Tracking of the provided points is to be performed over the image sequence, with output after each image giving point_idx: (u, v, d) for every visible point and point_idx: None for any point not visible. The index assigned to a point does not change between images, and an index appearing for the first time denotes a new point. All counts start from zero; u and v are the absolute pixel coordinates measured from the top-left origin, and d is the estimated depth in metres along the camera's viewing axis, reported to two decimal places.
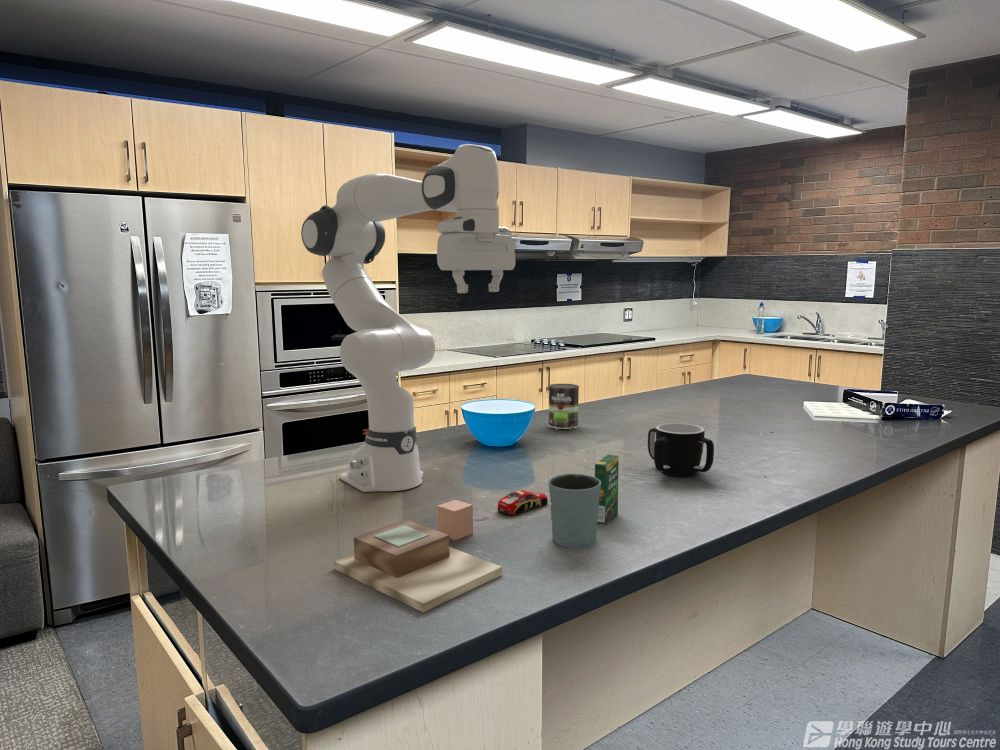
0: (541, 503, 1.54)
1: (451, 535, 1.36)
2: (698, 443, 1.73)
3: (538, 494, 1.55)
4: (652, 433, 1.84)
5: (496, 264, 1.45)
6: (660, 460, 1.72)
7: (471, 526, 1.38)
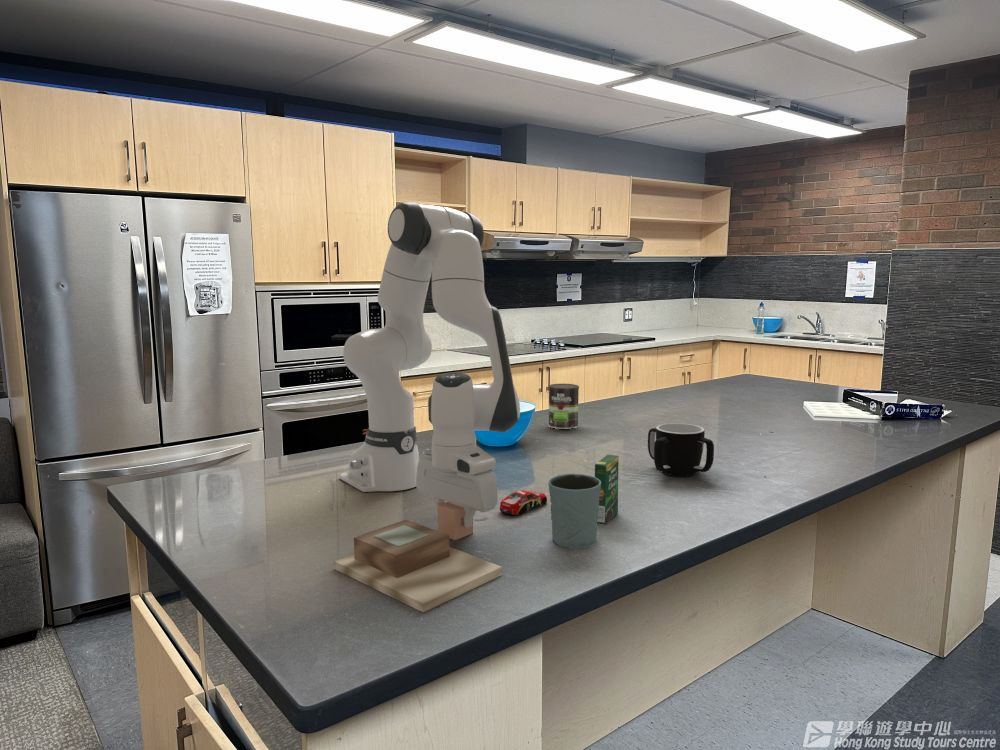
0: (541, 502, 1.55)
1: (451, 535, 1.36)
2: (698, 443, 1.73)
3: (538, 493, 1.56)
4: (652, 433, 1.84)
5: None
6: (660, 460, 1.72)
7: (471, 526, 1.38)
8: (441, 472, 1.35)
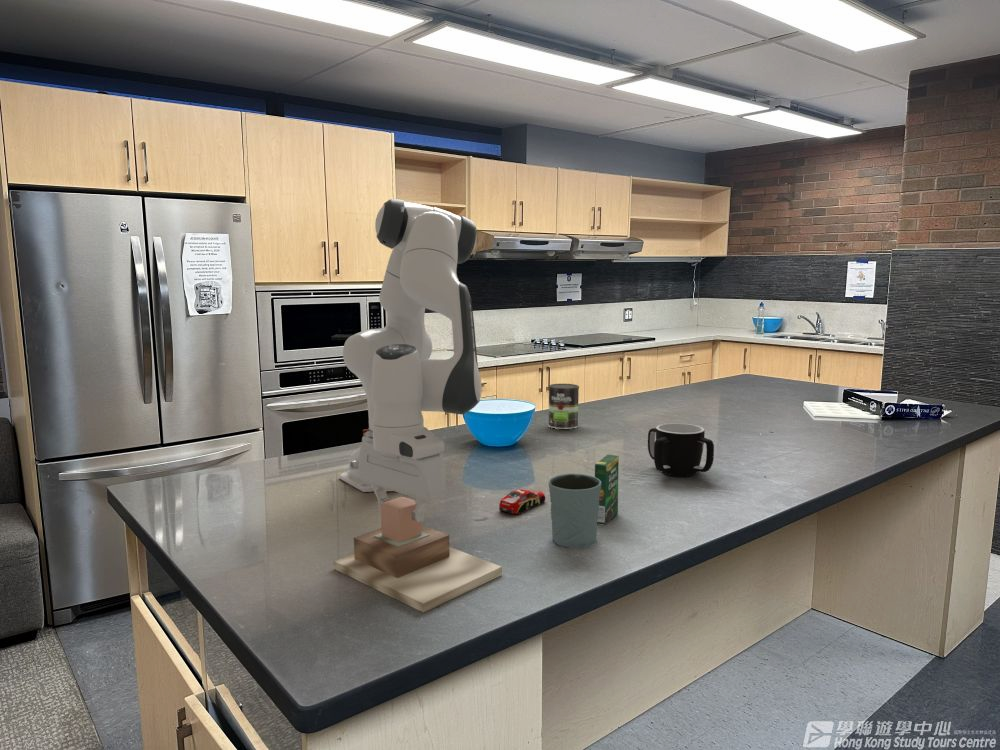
0: (540, 501, 1.56)
1: (395, 536, 1.20)
2: (698, 443, 1.73)
3: (536, 492, 1.56)
4: (652, 433, 1.84)
5: None
6: (660, 460, 1.72)
7: (419, 526, 1.22)
8: (383, 457, 1.19)
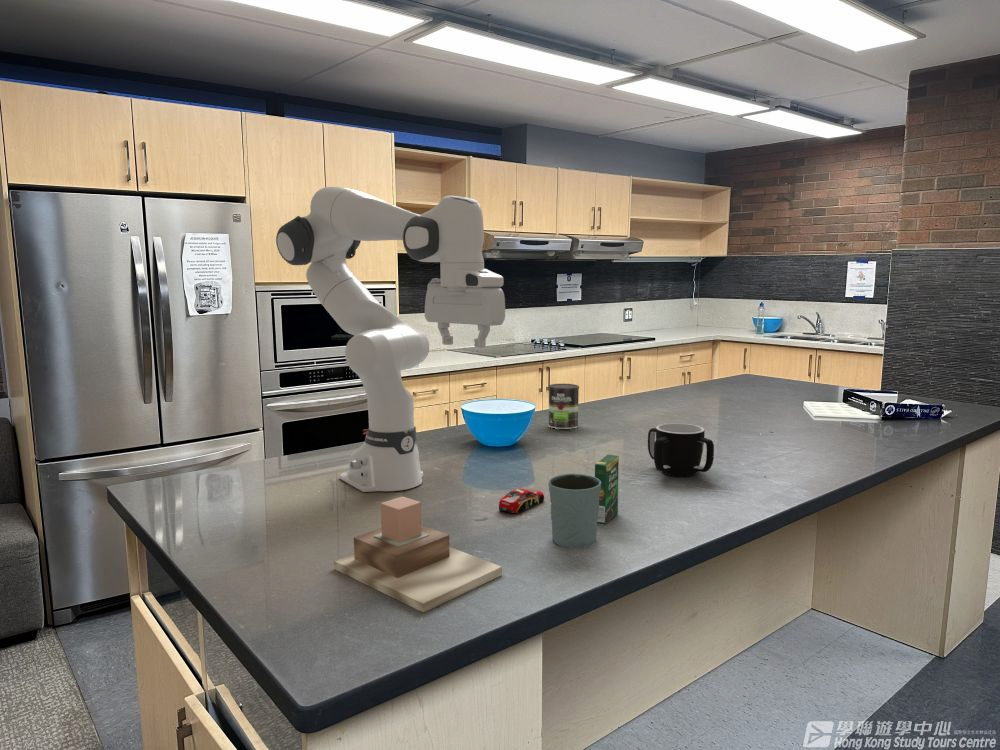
0: (539, 500, 1.56)
1: (395, 536, 1.20)
2: (698, 443, 1.73)
3: (535, 491, 1.57)
4: (652, 433, 1.84)
5: None
6: (660, 460, 1.72)
7: (419, 526, 1.22)
8: (450, 292, 1.37)
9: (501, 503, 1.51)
